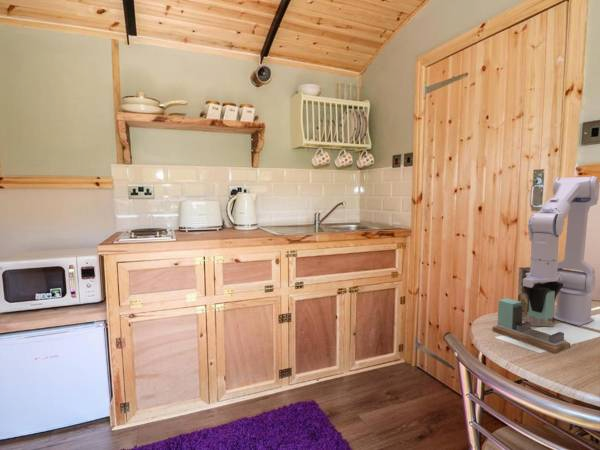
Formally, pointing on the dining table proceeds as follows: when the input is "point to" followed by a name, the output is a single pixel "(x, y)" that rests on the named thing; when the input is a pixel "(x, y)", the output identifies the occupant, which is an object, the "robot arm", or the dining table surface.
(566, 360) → the dining table surface
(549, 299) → the teal rectangular block
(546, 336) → the rail
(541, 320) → the coffee box
